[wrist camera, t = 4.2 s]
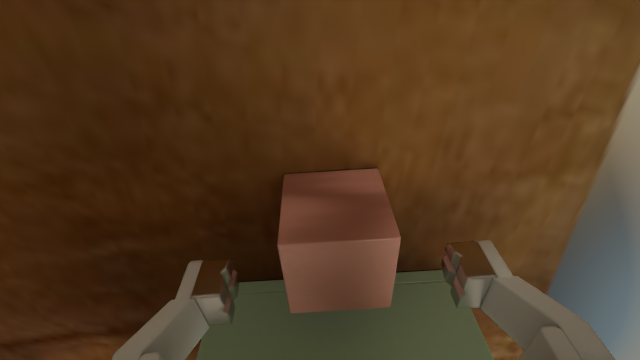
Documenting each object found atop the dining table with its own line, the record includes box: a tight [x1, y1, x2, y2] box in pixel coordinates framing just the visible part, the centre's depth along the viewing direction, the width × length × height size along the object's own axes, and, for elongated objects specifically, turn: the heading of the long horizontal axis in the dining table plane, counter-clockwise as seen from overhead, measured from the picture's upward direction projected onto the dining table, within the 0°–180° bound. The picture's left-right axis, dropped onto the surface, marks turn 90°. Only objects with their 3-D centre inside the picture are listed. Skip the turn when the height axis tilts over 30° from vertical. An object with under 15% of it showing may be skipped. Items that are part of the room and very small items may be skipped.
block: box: [277, 168, 401, 313], centre depth 14 cm, size 4×4×4 cm
